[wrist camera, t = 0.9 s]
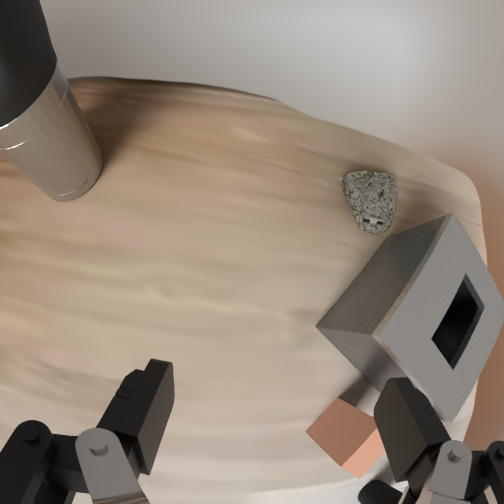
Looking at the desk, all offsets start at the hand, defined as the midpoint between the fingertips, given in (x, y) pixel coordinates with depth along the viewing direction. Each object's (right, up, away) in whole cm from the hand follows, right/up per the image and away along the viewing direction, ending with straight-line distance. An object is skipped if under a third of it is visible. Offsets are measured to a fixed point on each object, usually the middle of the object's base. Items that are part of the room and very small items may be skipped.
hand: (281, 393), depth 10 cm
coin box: (+18, -4, +26) cm, 32 cm away
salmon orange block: (+9, -17, +22) cm, 29 cm away
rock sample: (+15, +12, +29) cm, 35 cm away
